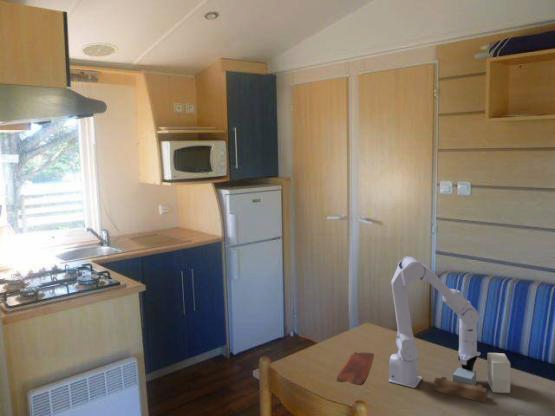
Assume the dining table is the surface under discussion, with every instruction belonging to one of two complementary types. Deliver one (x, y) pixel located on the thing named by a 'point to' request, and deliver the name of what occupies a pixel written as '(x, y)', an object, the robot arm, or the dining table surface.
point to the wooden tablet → (356, 368)
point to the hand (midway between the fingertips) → (467, 376)
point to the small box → (498, 372)
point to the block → (465, 376)
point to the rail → (460, 389)
